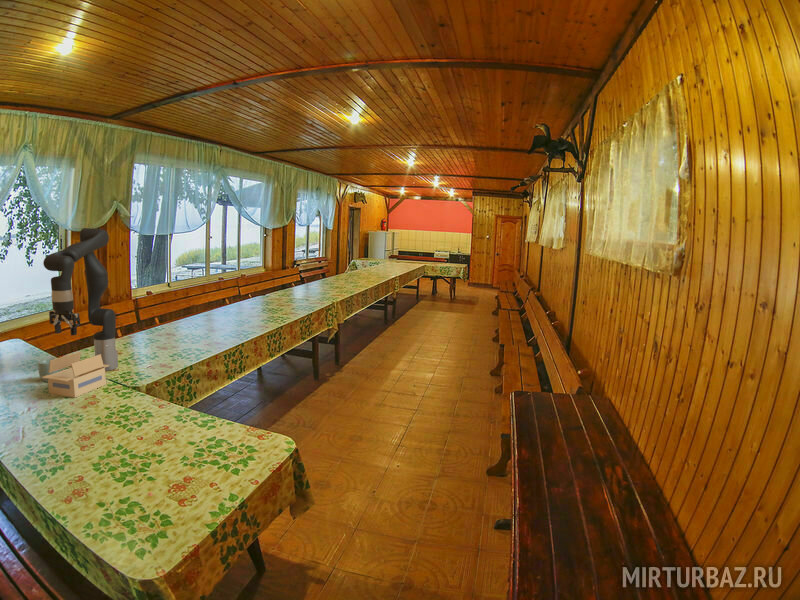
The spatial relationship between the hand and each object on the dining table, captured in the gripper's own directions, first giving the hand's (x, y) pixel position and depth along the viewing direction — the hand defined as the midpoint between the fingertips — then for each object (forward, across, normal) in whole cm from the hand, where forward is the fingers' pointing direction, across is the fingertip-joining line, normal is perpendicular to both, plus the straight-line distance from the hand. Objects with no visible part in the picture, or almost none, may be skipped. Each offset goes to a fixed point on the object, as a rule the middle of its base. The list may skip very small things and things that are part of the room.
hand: (66, 334), depth 189 cm
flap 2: (+15, -8, -2) cm, 17 cm away
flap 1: (+15, +4, -2) cm, 15 cm away
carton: (+28, -2, -2) cm, 28 cm away
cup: (+28, +20, -6) cm, 35 cm away
